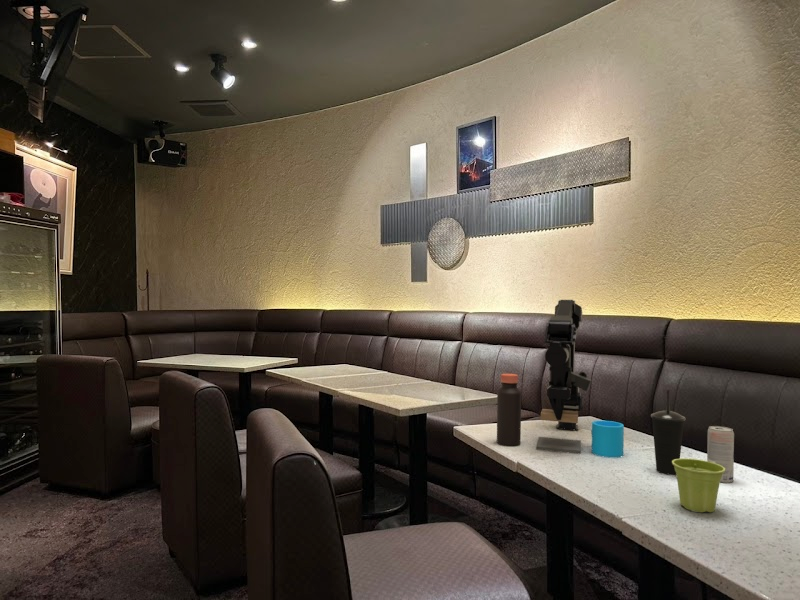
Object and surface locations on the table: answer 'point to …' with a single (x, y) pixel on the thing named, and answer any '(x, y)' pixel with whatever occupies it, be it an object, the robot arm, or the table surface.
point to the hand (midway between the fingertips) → (559, 417)
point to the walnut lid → (566, 417)
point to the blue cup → (607, 438)
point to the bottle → (509, 411)
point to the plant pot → (698, 483)
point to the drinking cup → (667, 438)
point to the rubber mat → (559, 445)
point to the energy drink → (721, 450)
